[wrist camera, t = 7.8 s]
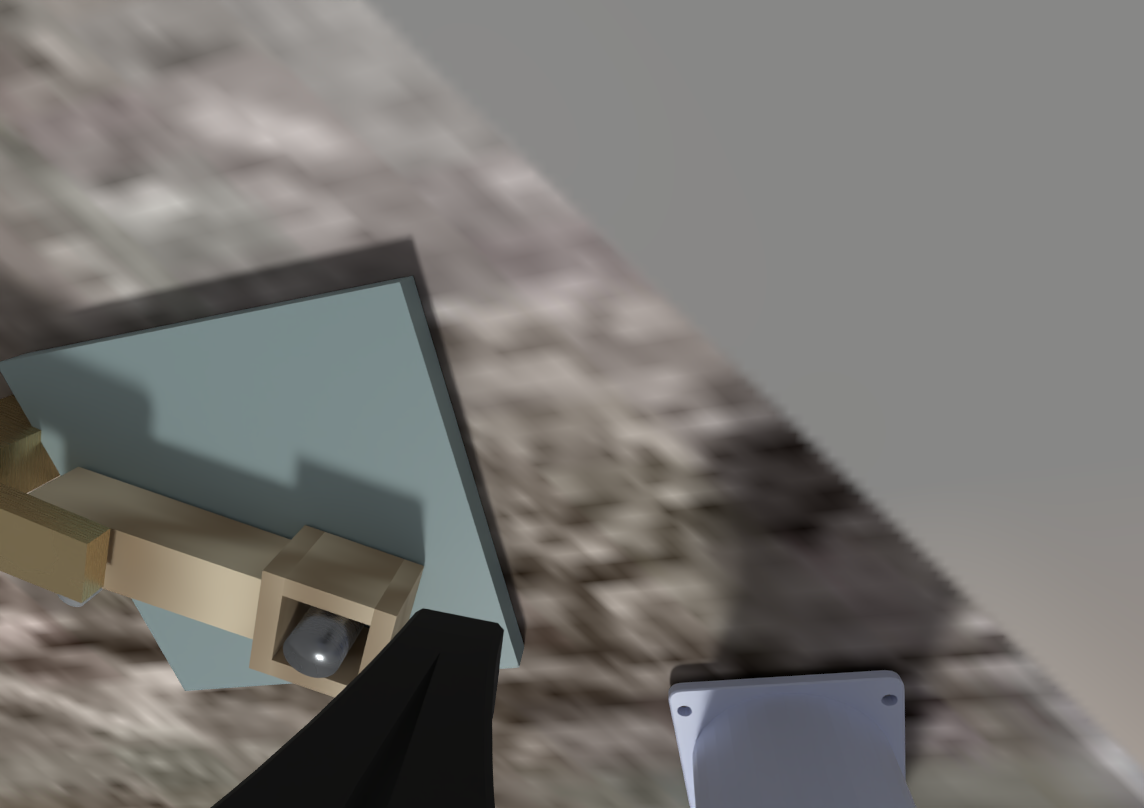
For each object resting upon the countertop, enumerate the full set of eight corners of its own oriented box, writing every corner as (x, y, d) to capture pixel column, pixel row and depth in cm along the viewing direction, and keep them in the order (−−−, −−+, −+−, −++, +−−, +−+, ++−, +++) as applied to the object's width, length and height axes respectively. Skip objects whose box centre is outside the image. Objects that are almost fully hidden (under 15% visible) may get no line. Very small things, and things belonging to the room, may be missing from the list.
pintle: (397, 589, 22) (348, 675, 18) (353, 593, 22) (296, 679, 19) (382, 549, 21) (327, 630, 18) (337, 553, 22) (273, 634, 18)
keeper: (11, 450, 22) (-135, 517, 18) (13, 394, 21) (-141, 452, 17) (184, 522, 22) (79, 604, 18) (193, 470, 21) (85, 545, 17)
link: (424, 566, 20) (396, 616, 18) (399, 653, 22) (371, 709, 20) (77, 446, 20) (7, 482, 18) (79, 544, 22) (15, 588, 19)
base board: (524, 646, 22) (505, 723, 19) (202, 671, 25) (140, 742, 22) (412, 275, 17) (363, 300, 14) (25, 353, 20) (-86, 388, 17)
